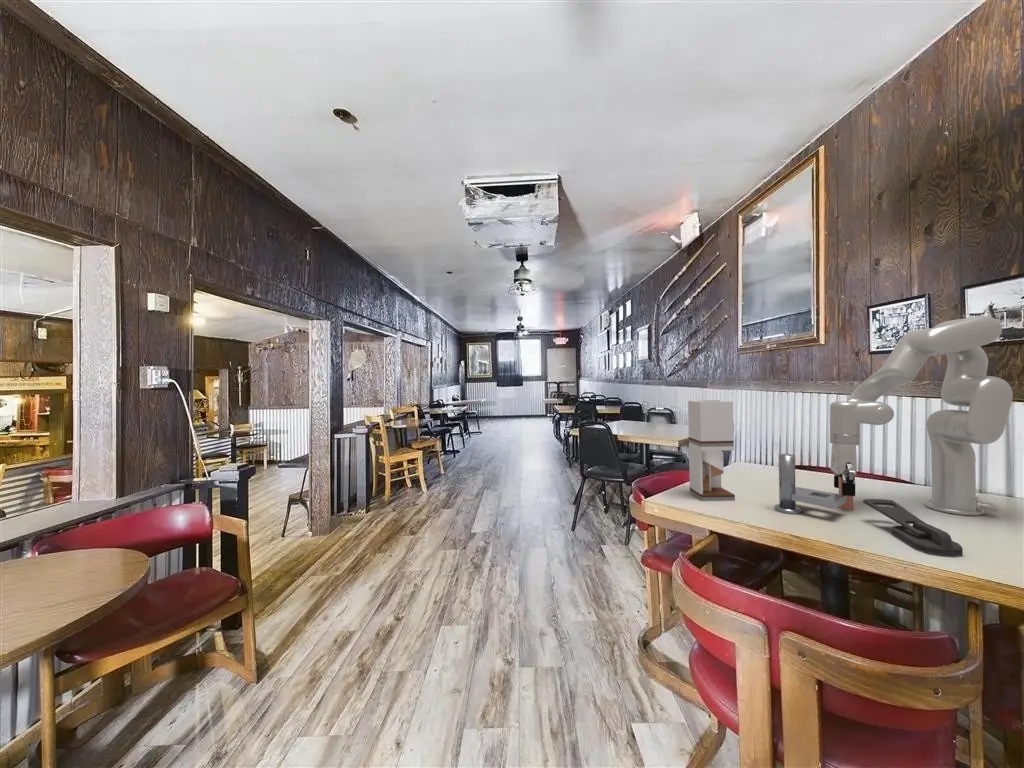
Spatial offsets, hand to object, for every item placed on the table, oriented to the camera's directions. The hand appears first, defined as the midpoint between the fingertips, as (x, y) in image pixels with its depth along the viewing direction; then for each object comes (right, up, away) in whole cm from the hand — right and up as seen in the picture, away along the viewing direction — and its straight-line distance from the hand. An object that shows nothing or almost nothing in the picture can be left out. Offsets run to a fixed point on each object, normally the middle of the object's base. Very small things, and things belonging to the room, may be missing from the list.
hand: (844, 491), depth 132 cm
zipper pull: (-2, -6, -24) cm, 25 cm away
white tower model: (-35, -6, +16) cm, 39 cm away
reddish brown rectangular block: (+1, -5, 0) cm, 5 cm away
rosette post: (-14, -6, -3) cm, 16 cm away
